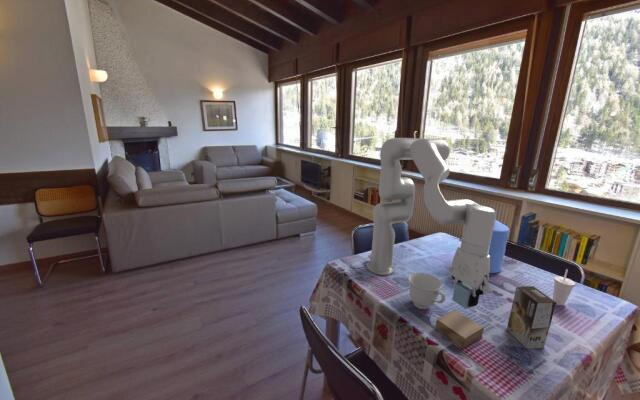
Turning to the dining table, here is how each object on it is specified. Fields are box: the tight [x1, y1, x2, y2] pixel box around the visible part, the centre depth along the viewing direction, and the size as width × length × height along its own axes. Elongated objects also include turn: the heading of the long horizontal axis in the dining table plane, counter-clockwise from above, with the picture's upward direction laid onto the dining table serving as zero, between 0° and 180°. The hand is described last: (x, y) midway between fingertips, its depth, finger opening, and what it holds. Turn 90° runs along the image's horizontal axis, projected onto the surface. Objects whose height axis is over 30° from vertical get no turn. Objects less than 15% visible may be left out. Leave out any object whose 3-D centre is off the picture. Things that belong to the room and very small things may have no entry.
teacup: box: [407, 272, 446, 310], centre depth 106 cm, size 12×15×10 cm
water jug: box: [488, 209, 510, 274], centre depth 137 cm, size 16×16×28 cm
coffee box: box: [506, 285, 557, 350], centre depth 91 cm, size 9×6×16 cm
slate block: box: [452, 281, 478, 310], centre depth 91 cm, size 5×5×6 cm
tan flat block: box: [434, 309, 484, 349], centre depth 94 cm, size 10×10×4 cm
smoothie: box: [552, 268, 576, 306], centre depth 112 cm, size 6×6×14 cm
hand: (464, 300), depth 91 cm, fingers closed on slate block, 5 cm apart
